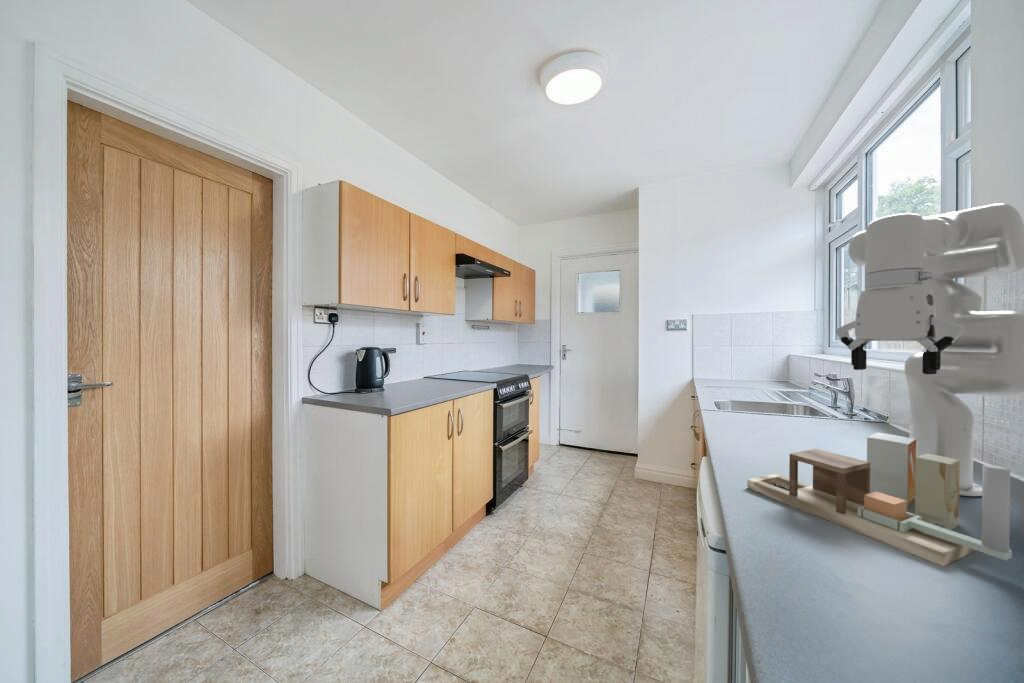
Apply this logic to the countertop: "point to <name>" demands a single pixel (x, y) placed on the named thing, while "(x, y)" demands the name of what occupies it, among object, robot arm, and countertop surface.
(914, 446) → the small box
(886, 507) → the block
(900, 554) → the countertop surface
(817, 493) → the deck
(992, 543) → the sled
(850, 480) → the tunnel
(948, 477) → the skincare box
